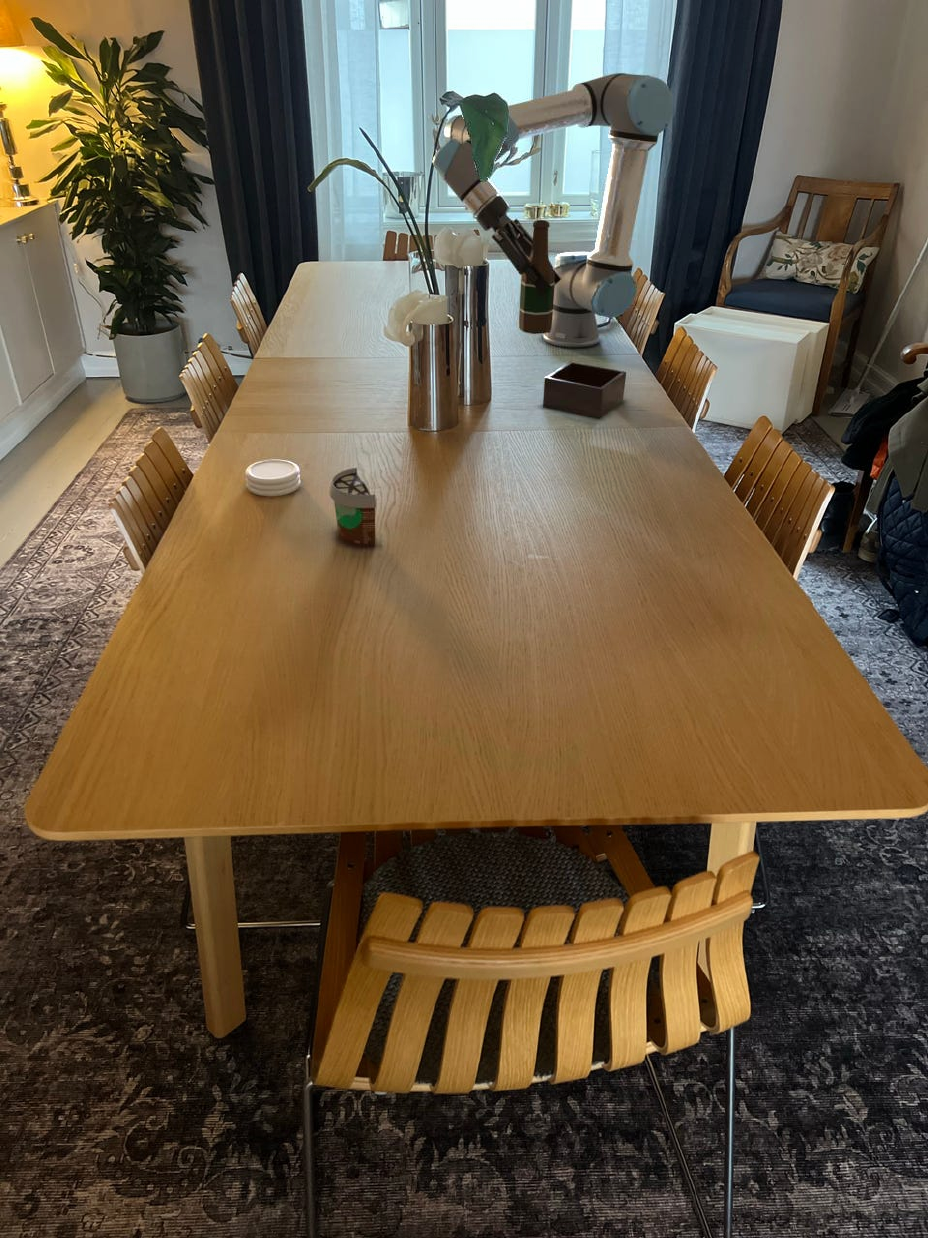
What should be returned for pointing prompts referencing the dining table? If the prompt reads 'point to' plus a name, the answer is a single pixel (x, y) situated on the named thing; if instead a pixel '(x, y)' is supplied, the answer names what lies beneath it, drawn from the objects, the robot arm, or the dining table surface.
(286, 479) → the coaster
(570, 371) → the box
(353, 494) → the food container
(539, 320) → the beer bottle
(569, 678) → the dining table surface
